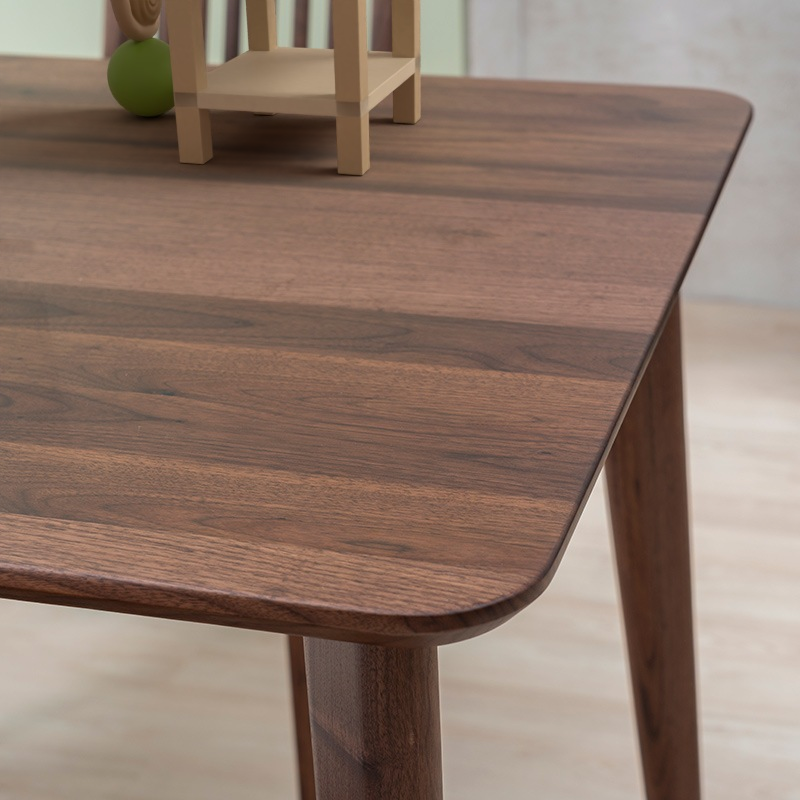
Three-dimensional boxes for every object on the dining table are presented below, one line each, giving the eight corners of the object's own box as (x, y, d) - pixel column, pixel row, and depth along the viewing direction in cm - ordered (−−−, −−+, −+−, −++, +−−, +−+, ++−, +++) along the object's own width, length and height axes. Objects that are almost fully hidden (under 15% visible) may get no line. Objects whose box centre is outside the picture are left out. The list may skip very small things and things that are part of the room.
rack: (179, 162, 79) (161, -38, 73) (260, 108, 91) (249, -68, 85) (362, 175, 76) (357, -33, 70) (421, 118, 88) (420, -64, 82)
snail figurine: (90, 125, 87) (68, -57, 82) (134, 103, 93) (115, -69, 87) (162, 131, 86) (143, -55, 80) (201, 108, 91) (187, -67, 86)
